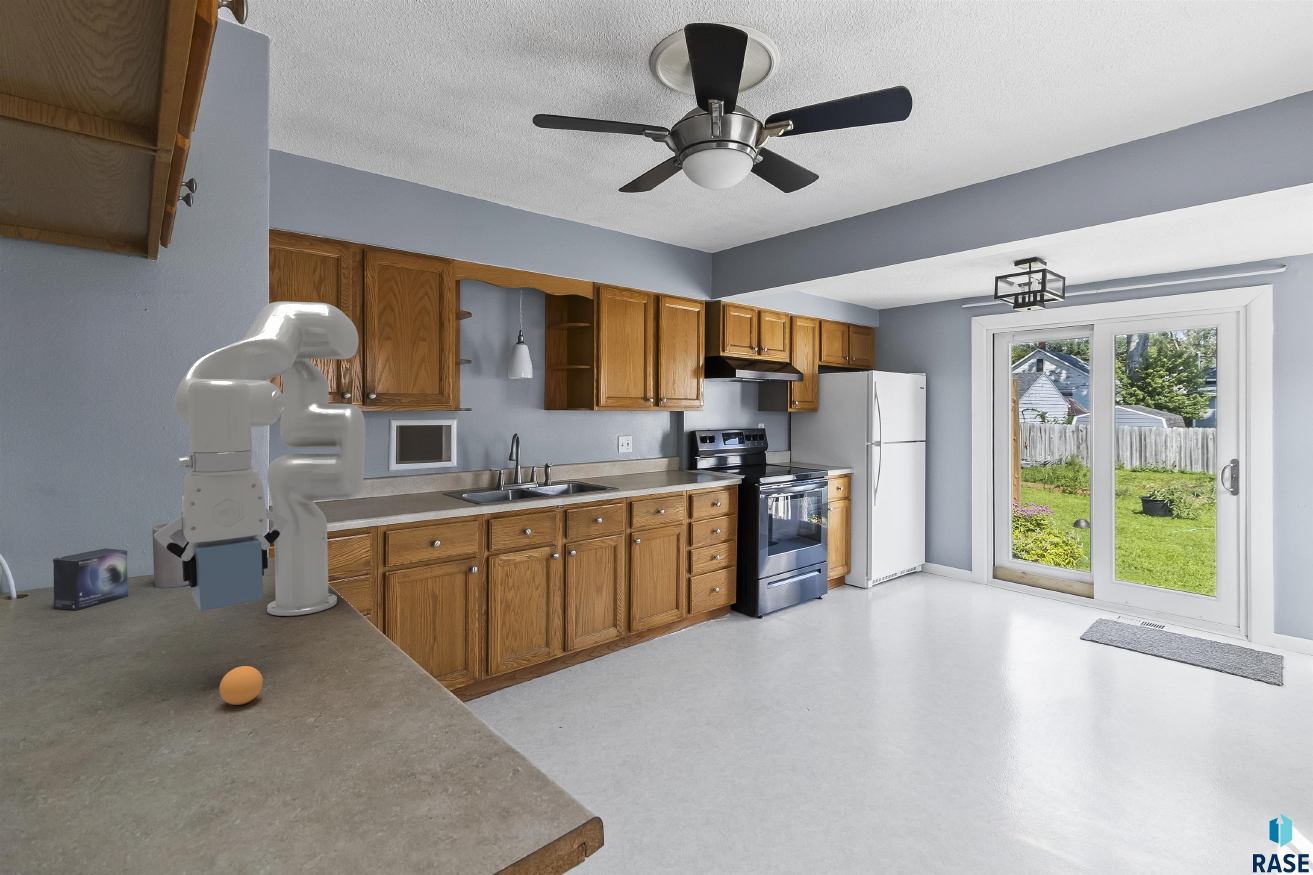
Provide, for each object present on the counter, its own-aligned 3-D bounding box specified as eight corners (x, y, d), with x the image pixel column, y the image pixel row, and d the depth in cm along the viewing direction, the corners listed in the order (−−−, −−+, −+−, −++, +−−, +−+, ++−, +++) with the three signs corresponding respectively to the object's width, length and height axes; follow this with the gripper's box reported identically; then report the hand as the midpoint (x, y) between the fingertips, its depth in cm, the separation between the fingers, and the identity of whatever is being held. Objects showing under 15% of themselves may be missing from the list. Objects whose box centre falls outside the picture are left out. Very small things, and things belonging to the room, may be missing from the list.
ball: (234, 691, 83) (232, 719, 85) (271, 671, 87) (269, 698, 89) (212, 670, 85) (210, 698, 87) (249, 652, 89) (247, 679, 91)
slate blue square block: (192, 597, 95) (190, 540, 94) (252, 587, 100) (250, 532, 100) (200, 611, 89) (197, 550, 89) (263, 599, 95) (261, 541, 94)
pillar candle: (169, 578, 153) (166, 516, 152) (213, 575, 155) (211, 515, 154) (144, 589, 143) (141, 524, 142) (192, 587, 145) (189, 522, 144)
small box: (77, 611, 127) (75, 560, 127) (51, 609, 129) (49, 558, 128) (130, 596, 138) (128, 548, 137) (106, 594, 139) (104, 547, 139)
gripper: (149, 470, 85) (155, 598, 86) (294, 461, 97) (298, 573, 98) (144, 465, 90) (150, 585, 91) (282, 457, 102) (286, 564, 103)
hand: (226, 578), depth 95 cm, fingers closed on slate blue square block, 7 cm apart
